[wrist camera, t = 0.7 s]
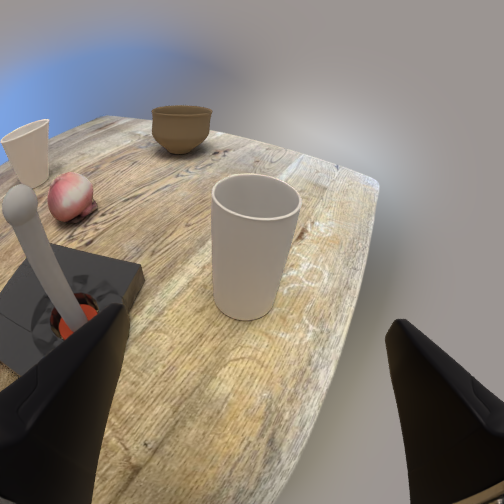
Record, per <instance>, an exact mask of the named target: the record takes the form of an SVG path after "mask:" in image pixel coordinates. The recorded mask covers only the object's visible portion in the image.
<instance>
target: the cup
mask: <svg viewBox="0 0 504 504" xmlns="http://www.w3.org/2000/svg"><path fill="white" fill-rule="evenodd" d="M48 129H49V119H43V120H39V121H35V122H32V123H30V124H27V125H25V126H22V127H20V128H18V129H16V130H14V131H12V132H11V133H9V134H8V135H6V136H5V137H4V138H3V139H2V140H1V143H2V145H3V148H4V150H5V152H6V154H7V157H8V159H9V161H10V163H11V165H12V167H13V169H14V171H15V173H16V175H17V177H18V179H19V181H20V183H21V184H22V185H27V186H29V187H30V188H31V189H33V188H35V187H38V186H39V185H41V184H43V183H44V182H45V181H46V180H47V179H48V178H49V165H48V131H49V130H48Z"/></svg>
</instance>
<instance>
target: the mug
mask: <svg viewBox="0 0 504 504" xmlns="http://www.w3.org/2000/svg"><path fill="white" fill-rule="evenodd" d="M301 206H302V198H301V196H300V194H299V193H298V191H297V190H296V189H295V188H294V187H292V186H291V185H290V184H288V183H286V182H284V181H282V180H280V179H277V178H274V177H271V176H267V175H262V174H251V173H245V174H233V175H229V176H228V177H225V178H223V179H221V180H220V181H218V182H217V183H216V184H215V185H214V187H213V189H212V208H211V233H212V274H213V292H214V300H215V303H216V305H217V307H218V308H219V309H220V310H221V311H222V312H223V313H224V314H225V315H227V316H229V317H231V318H234V319H237V320H245V321H246V320H254V319H258V318H260V317H262V316H264V315H265V314H267V313H268V312H269V311H270V309H271V308H272V306H273V303H274V300H275V297H276V294H277V291H278V288H279V284H280V281H281V277H282V274H283V271H284V267H285V264H286V260H287V257H288V253H289V250H290V246H291V243H292V239H293V236H294V232H295V228H296V225H297V220H298V216H299V212H300V208H301Z"/></svg>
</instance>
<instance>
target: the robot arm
mask: <svg viewBox="0 0 504 504" xmlns="http://www.w3.org/2000/svg"><path fill="white" fill-rule="evenodd" d="M129 329H130V322H129V318H128V315H127V311H126V307H125V305H124V304H120V303H111V304H110V305H108V306H107V307H106V308H104V309H103V310H102V311H101V312H99V313H98V314H97V315H95V316H94V317H93V318H92V319H90V320H89V321H88V322H87V323H85V324H84V325H83V326H81V327H80V328H79V329H78V330H76V331H75V332H74V333H73V334H71V335H70V336H69V337H68V338H66V339H65V340H64V341H63V342H62V343H60V344H59V345H58V346H57V347H55V348H54V349H53V350H52V351H51V352H49V353H48V354H47V355H46V356H45V357H43V358H42V359H41V360H40V361H39V362H38V363H37V364H35V365H34V366H33V367H32V368H30V369H29V370H28V371H27V372H26V373H24V374H23V375H22V376H21V377H20V378H18V379H17V380H16V381H14V382H13V383H12V384H10V385H9V386H8V387H6V388H5V389H3V390H2V391H1V392H0V504H91V502H92V495H93V489H94V482H95V476H96V474H95V473H96V470H97V465H98V459H99V454H100V450H101V445H102V440H103V436H104V432H105V427H106V423H107V419H108V415H109V411H110V407H111V404H112V400H113V396H114V393H115V389H116V386H117V382H118V379H119V376H120V372H121V368H122V363H123V358H124V353H125V348H126V343H127V338H128V333H129ZM385 343H386V349H387V356H388V362H389V369H390V376H391V381H392V385H393V390H394V394H395V399H396V403H397V408H398V413H399V418H400V423H401V429H402V435H403V441H404V446H405V454H406V461H407V469H408V479H409V490H410V504H504V402H503V401H501V400H500V399H499V398H498V397H497V396H495V395H494V394H493V393H492V392H490V391H489V390H488V389H486V388H485V387H484V386H483V385H482V384H481V383H480V382H479V381H477V380H476V379H475V378H474V377H473V376H471V374H470V373H469V372H467V371H466V370H465V369H464V368H463V367H462V366H461V365H460V364H458V363H457V362H456V361H455V360H454V359H453V358H451V357H450V356H449V355H448V354H447V353H446V352H444V351H443V350H442V349H441V348H440V347H439V346H437V345H436V344H435V343H434V342H433V341H431V340H430V339H429V338H428V337H427V336H426V335H424V334H423V333H422V332H421V331H420V330H418V329H417V328H416V327H415V326H414V325H412V324H411V323H410V322H409V321H407V320H406V319H396V320H395V321H394V322H393V323H392V325H391V327H390V329H389V330H388V332H387V334H386V336H385Z"/></svg>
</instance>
